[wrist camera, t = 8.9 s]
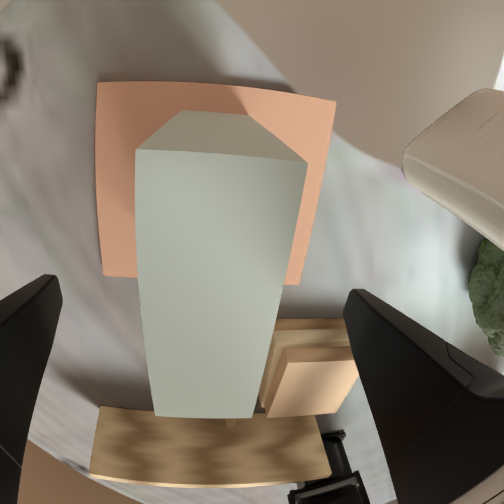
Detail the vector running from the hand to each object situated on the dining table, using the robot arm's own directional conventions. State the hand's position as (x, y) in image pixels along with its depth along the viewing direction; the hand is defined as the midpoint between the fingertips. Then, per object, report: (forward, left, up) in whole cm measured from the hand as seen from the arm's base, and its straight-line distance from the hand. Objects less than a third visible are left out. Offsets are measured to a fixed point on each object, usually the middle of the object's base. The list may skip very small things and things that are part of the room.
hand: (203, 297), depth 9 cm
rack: (-1, +16, -11) cm, 19 cm away
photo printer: (-16, -6, -11) cm, 20 cm away
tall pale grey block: (0, 0, -10) cm, 10 cm away
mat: (0, 0, -11) cm, 11 cm away
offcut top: (-9, +14, -8) cm, 19 cm away
